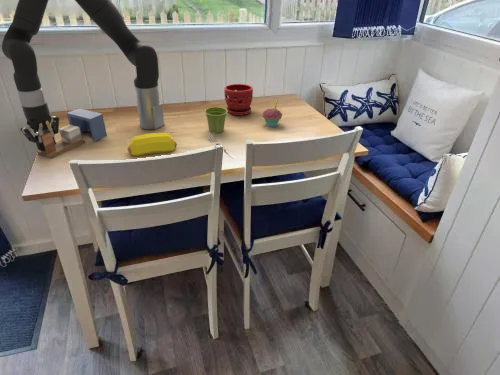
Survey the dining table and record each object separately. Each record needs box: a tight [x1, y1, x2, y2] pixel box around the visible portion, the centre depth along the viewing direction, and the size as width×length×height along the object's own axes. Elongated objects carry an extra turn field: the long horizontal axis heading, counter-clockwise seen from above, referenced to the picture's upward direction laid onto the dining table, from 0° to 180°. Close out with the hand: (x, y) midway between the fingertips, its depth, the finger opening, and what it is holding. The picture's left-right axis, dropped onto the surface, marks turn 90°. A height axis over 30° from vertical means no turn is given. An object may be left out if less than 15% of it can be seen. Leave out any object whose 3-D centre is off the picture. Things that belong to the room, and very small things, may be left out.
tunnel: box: [66, 108, 108, 142], centre depth 143 cm, size 12×7×9 cm, turn 64°
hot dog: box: [127, 132, 178, 157], centre depth 134 cm, size 18×7×8 cm
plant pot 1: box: [204, 106, 229, 134], centre depth 150 cm, size 9×9×9 cm
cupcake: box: [261, 99, 283, 128], centre depth 156 cm, size 9×8×12 cm
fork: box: [206, 133, 227, 152], centre depth 138 cm, size 3×24×2 cm, turn 31°
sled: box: [36, 124, 86, 159], centre depth 133 cm, size 7×15×8 cm, turn 154°
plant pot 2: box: [224, 83, 254, 116], centre depth 169 cm, size 13×13×12 cm
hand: (47, 148), depth 130 cm, fingers closed on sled, 3 cm apart
